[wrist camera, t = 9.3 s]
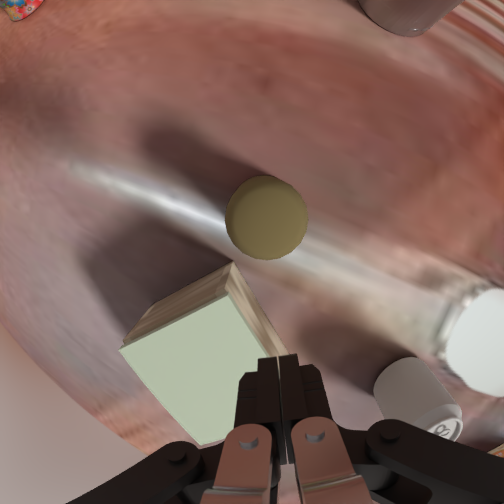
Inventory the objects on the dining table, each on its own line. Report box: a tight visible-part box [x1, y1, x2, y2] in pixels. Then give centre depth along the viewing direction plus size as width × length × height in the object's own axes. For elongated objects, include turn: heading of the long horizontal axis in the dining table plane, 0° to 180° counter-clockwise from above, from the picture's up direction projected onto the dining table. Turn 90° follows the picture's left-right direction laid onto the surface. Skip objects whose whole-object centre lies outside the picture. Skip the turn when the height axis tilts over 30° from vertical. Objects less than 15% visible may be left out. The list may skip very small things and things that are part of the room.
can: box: [373, 357, 463, 442], centre depth 26 cm, size 8×8×12 cm
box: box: [123, 261, 289, 369], centre depth 27 cm, size 12×10×8 cm
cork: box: [225, 175, 308, 260], centre depth 23 cm, size 6×6×11 cm
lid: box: [119, 292, 280, 445], centre depth 23 cm, size 12×10×1 cm
